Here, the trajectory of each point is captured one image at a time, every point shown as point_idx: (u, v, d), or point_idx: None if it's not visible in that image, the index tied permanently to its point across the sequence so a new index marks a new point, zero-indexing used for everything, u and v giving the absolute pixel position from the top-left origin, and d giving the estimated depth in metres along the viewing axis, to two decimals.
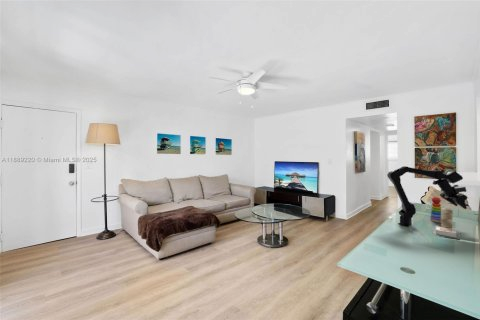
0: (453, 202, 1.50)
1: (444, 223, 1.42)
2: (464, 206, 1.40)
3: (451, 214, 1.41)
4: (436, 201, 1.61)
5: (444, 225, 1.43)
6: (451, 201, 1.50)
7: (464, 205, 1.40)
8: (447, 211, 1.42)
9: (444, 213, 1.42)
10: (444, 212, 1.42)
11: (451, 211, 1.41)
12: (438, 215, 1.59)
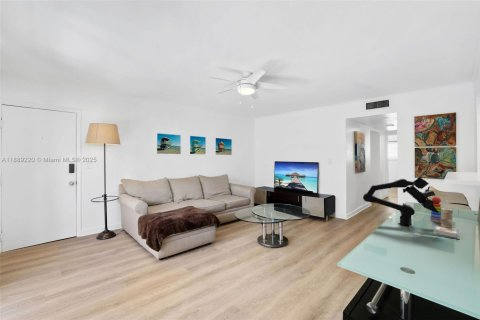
0: None
1: (444, 223, 1.42)
2: (435, 210, 1.42)
3: (451, 214, 1.41)
4: (436, 201, 1.61)
5: (444, 225, 1.43)
6: None
7: (434, 209, 1.42)
8: (447, 211, 1.42)
9: (444, 213, 1.42)
10: (444, 212, 1.42)
11: (451, 211, 1.41)
12: (438, 215, 1.59)
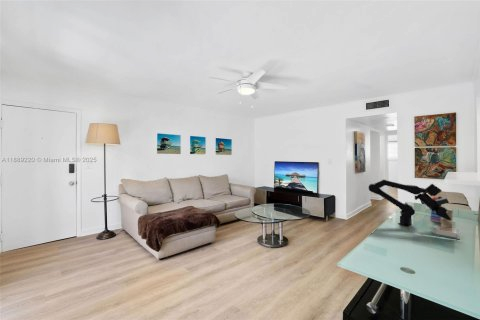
0: None
1: (444, 223, 1.42)
2: (448, 218, 1.41)
3: (451, 214, 1.41)
4: None
5: (444, 225, 1.43)
6: None
7: (447, 217, 1.41)
8: (447, 211, 1.42)
9: None
10: None
11: (451, 211, 1.41)
12: None
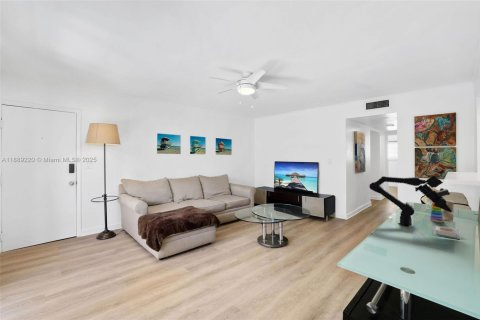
0: None
1: (445, 215, 1.40)
2: (448, 209, 1.39)
3: (452, 206, 1.38)
4: None
5: (444, 217, 1.41)
6: None
7: (448, 208, 1.39)
8: (448, 203, 1.39)
9: None
10: None
11: (452, 203, 1.38)
12: (438, 215, 1.59)
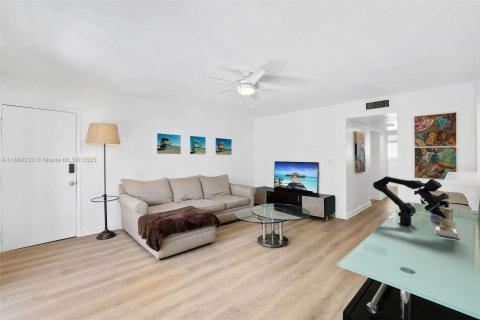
0: None
1: (441, 222, 1.35)
2: (441, 215, 1.32)
3: (448, 213, 1.32)
4: None
5: (441, 225, 1.35)
6: None
7: (441, 214, 1.32)
8: (444, 210, 1.33)
9: None
10: (441, 211, 1.35)
11: (448, 210, 1.32)
12: None
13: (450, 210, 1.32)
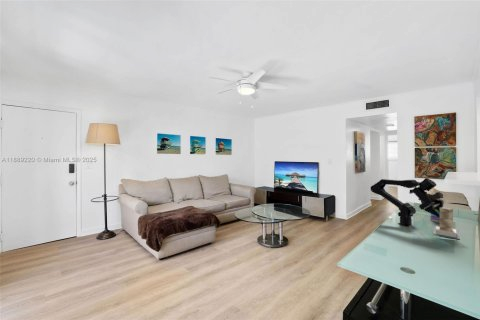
0: None
1: (441, 222, 1.35)
2: (435, 214, 1.35)
3: (448, 213, 1.32)
4: None
5: (441, 225, 1.35)
6: None
7: (435, 212, 1.35)
8: (444, 210, 1.33)
9: (441, 212, 1.35)
10: (441, 211, 1.35)
11: (448, 210, 1.32)
12: None
13: (450, 210, 1.32)
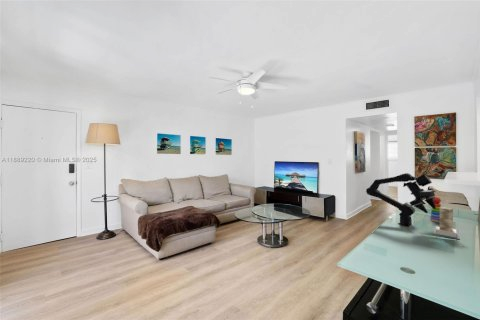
0: (431, 204, 1.48)
1: (441, 222, 1.35)
2: (424, 210, 1.43)
3: (448, 213, 1.32)
4: (436, 201, 1.61)
5: (441, 225, 1.35)
6: (429, 203, 1.49)
7: (423, 209, 1.43)
8: (444, 210, 1.33)
9: (441, 212, 1.35)
10: (441, 211, 1.35)
11: (448, 210, 1.32)
12: (438, 215, 1.59)
13: (450, 210, 1.32)
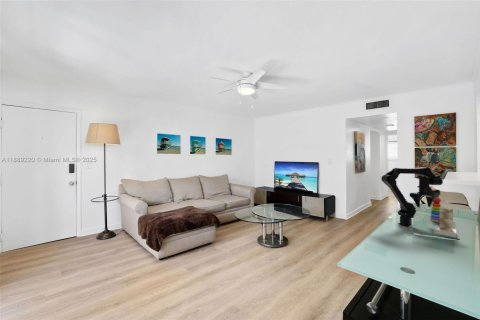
0: (428, 202, 1.55)
1: (441, 222, 1.35)
2: (417, 204, 1.53)
3: (448, 213, 1.32)
4: (436, 201, 1.61)
5: (441, 225, 1.35)
6: (428, 201, 1.56)
7: (417, 203, 1.53)
8: (444, 210, 1.33)
9: (441, 212, 1.35)
10: (441, 211, 1.35)
11: (448, 210, 1.32)
12: (438, 215, 1.59)
13: (450, 210, 1.32)
